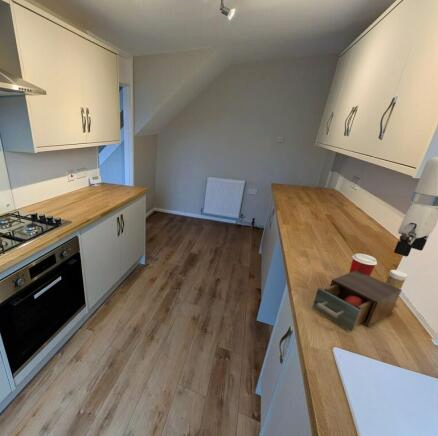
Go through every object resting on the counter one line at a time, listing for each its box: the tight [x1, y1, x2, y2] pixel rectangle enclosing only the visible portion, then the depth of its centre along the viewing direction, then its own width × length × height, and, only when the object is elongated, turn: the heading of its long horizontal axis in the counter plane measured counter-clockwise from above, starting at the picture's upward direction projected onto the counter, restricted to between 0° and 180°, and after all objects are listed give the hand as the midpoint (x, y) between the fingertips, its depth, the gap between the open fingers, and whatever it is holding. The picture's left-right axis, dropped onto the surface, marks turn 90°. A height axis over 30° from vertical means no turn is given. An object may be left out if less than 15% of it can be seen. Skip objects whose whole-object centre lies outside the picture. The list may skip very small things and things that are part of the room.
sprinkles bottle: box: [385, 269, 408, 290], centre depth 90 cm, size 5×5×14 cm
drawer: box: [311, 284, 374, 333], centre depth 83 cm, size 19×13×8 cm, turn 115°
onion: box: [344, 296, 368, 308], centre depth 83 cm, size 6×6×8 cm
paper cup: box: [348, 253, 378, 276], centre depth 99 cm, size 8×8×14 cm
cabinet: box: [329, 270, 402, 328], centre depth 87 cm, size 16×14×10 cm
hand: (407, 251), depth 76 cm, fingers open, 9 cm apart
